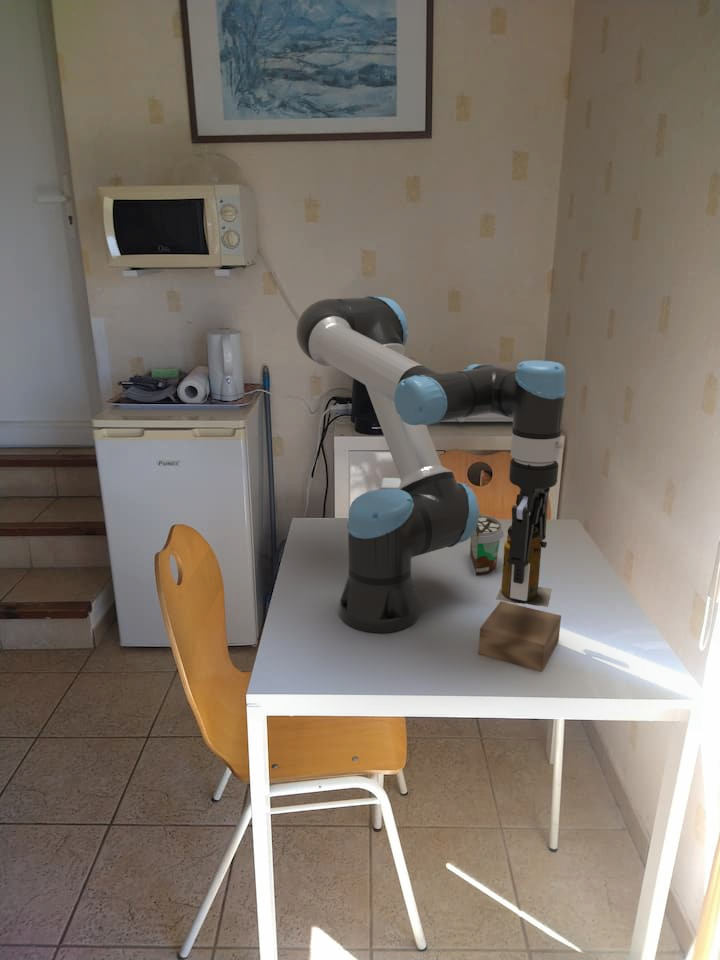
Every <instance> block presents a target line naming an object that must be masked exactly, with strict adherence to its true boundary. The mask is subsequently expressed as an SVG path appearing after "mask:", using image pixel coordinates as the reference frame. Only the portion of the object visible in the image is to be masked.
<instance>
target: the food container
mask: <svg viewBox="0 0 720 960" xmlns="http://www.w3.org/2000/svg"><path fill="white" fill-rule="evenodd" d="M503 537H504V528H503V525H502V523H501V521H499V519H497V518H495V517H493V516H489V515H485V514H480V513H479V520H478V523H477V527H476V530H475V532H474V533H473V535H472V536H471V537H470V547H469V549H470V550H469V554H470V555H469V558H470V561H471V564H472V568H473V572H474V575H475V576H482V575H488V574H491V573H493V572H494V571H495V570H496V568H497V561H498V556H499V555H498V554H499V547H500V540H501V539H502V538H503Z"/></svg>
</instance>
